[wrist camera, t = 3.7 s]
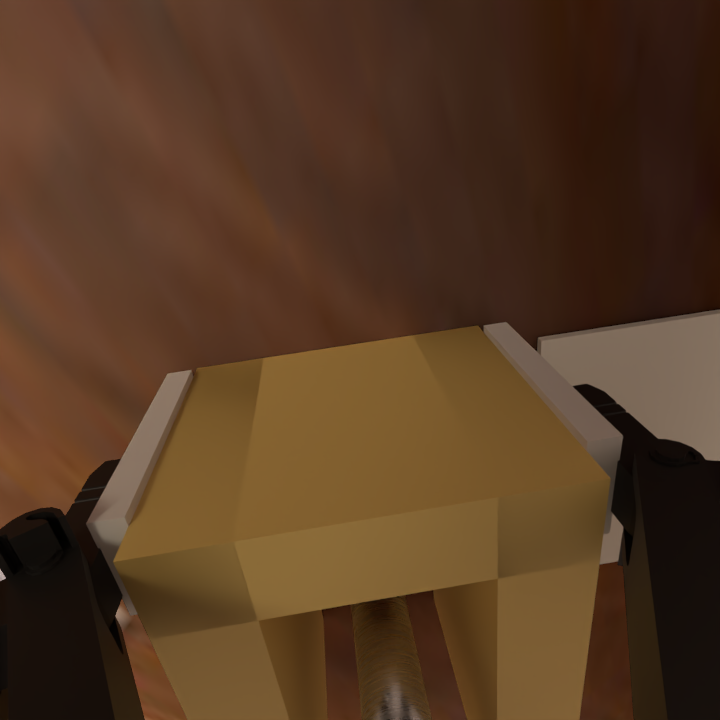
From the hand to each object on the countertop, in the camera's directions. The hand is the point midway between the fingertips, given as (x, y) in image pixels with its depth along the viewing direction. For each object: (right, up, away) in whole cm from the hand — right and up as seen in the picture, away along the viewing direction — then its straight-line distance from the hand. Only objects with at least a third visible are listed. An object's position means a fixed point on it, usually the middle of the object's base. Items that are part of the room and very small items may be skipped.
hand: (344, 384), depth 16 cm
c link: (+1, -5, +3) cm, 5 cm away
